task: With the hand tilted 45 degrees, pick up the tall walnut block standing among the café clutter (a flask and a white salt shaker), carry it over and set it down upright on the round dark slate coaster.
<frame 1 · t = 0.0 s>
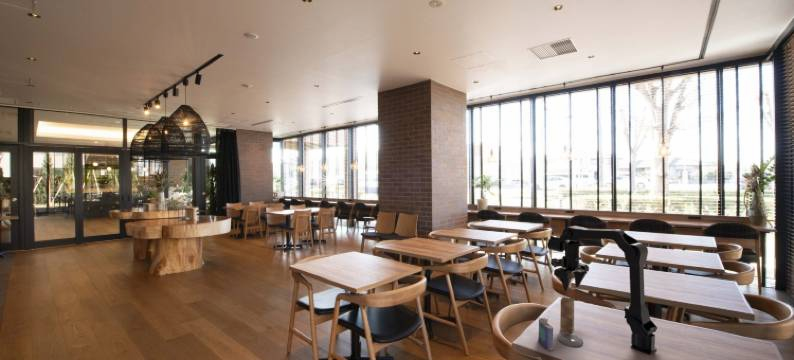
hand: (571, 289, 156), 15 cm above the table, tool pointing down, fingers open, 9 cm apart
salt shaker: (569, 317, 160), on the table
flask: (545, 345, 136), on the table
slate coaster: (570, 341, 139), on the table
walnut block: (567, 329, 149), on the table
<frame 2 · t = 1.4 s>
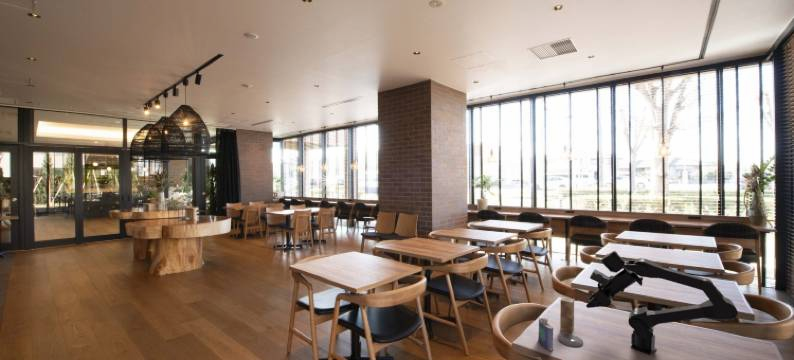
hand: (588, 303, 143), 13 cm above the table, tool tilted 45°, fingers open, 9 cm apart
nothing on the table moved.
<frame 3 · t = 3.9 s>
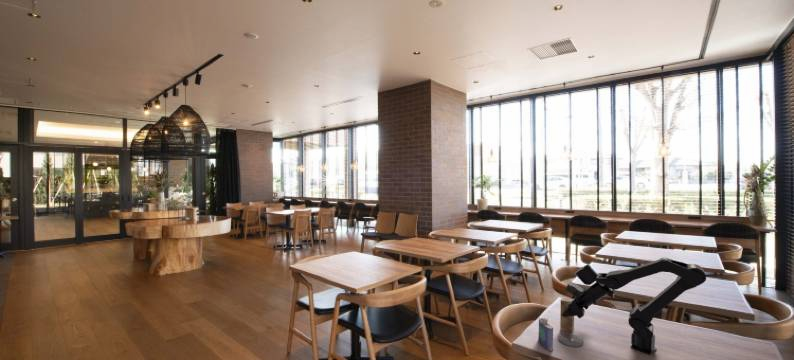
hand: (563, 313, 149), 7 cm above the table, tool tilted 45°, fingers closed on walnut block, 4 cm apart
walnut block: (567, 329, 149), on the table, touching gripper
everything else where it was.
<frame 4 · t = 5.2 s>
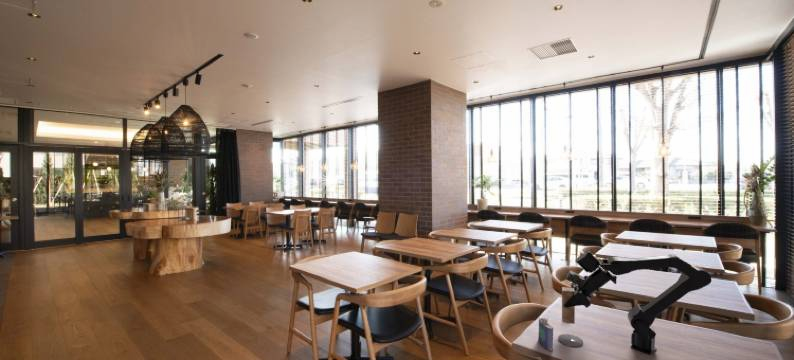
hand: (564, 304, 143), 13 cm above the table, tool tilted 45°, fingers closed on walnut block, 4 cm apart
walnut block: (568, 320, 143), point 6 cm above the table, touching gripper
everything else where it was.
when the fingers open (9 cm above the table, at t = 6.6 s): walnut block drops 1 cm, resting on slate coaster.
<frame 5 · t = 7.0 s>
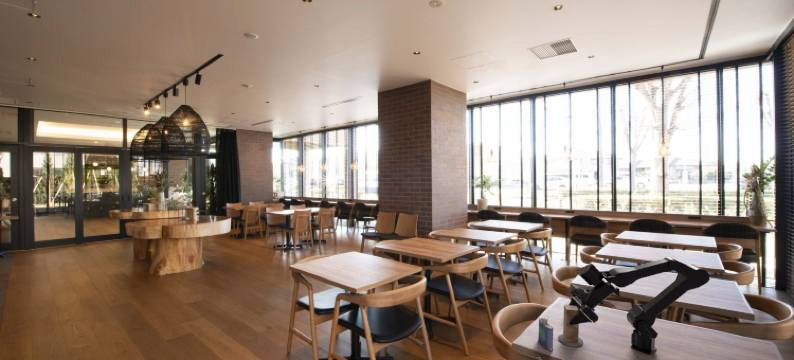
hand: (566, 318, 139), 9 cm above the table, tool tilted 45°, fingers open, 9 cm apart
walnut block: (570, 339, 139), point 1 cm above the table, touching slate coaster
everything else where it was.
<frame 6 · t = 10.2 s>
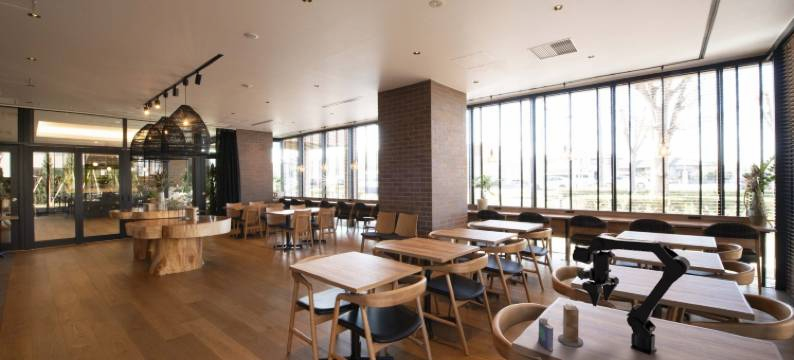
hand: (600, 303, 144), 13 cm above the table, tool pointing down, fingers open, 9 cm apart
nothing on the table moved.
at the end: walnut block 0.0 cm from the slate coaster (horizontally); walnut block tilted 0°; the gripper is holding nothing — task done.
